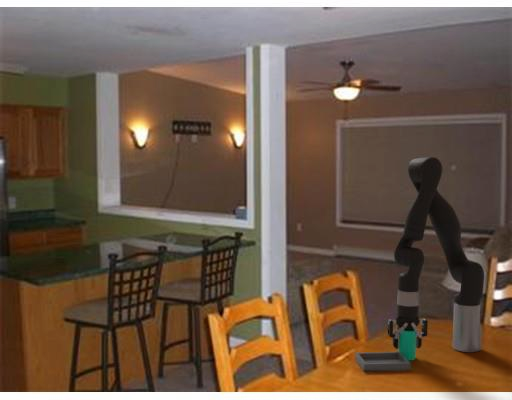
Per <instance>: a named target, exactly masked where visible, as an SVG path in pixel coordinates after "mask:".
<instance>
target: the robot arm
mask: <svg viewBox="0 0 512 400" xmlns="http://www.w3.org/2000/svg"><path fill="white" fill-rule="evenodd" d="M407 172H408V176H409V179H410V182H411V183H412V184H413V186H414V188H415V190H416V192H417V193H418V194H417V196H416V198H415V199H414V201H413V203H412V204H411V207H410V208H409V211H408V213H407V215H406V219H405V222H404V228H403V232H402V235H401V237H400V239H399V241H398V243H397V245H396V247H395V249H394V254H393V258H394V262H395V263H396V264H397V265H399V266H401V267H407V268H408V270H407V272H402V273H400V274H399V275H398V282H397V283H398V284H397V296H396V297H397V298H396V299H397V301H396V303H397V304H396V318H395V319H390V318H388V319H387V335H388V336H389V337H390V338H392V346H393V348H394V349H395V350H398V348H399V335H400V334H401V333H402V331H403V330H404V331H414V330H416V349H421V347H422V346H423V344H422V343H423V341H422V339H423V338H424V337H427V336H428V324H429V323H428V322H429V321H428V319H426V318H424V317H422V318H421V319H420V318H419V316H420V309H419V308H420V293H419V291H420V289H419V288H420V287H419V285H420V281H419V280H420V277H421V274H422V270H423V266H424V264H425V254H424V252H423V251H422V249H420V248H418V247H412V246H413V245H414V243H416V242H417V243H418V242H421V241H423V238H424V236H425V232H426V231H425V230H426V225H427V220H428V218H429V220H430V223H431V225H432V228H433V230H434V232H435V234H436V237H437V238H438V241H439V243H440V246H441V249H442V251H443V253H444V257H445V260H446V262H447V266H448V269H449V274H450V276H451V277H452V279H453V280H454V281H455V282H457V283H459V284H460V291H459V292H457V293H456V294H454V297H453V317H452V318H453V319H452V320H453V321H452V323H453V324H452V348H453V350H455V351H457V352H458V351H459V352H463V353H474V352H476V353H477V352H479V351H482V328H483V327H482V324H480V318H481V317H480V315H481V313H480V311H481V300H482V297H483V293H484V284H485V283H484V282H485V271H484V268H483V266H482V264H480V263H479V262H477V261H473V260H470V259H468V257H467V255H466V254H465V251H464V249H463V247H462V241H461V239H462V227H461V223H460V220H459V218H458V215H457V213H456V211H455V210H454V208H453V207H452V205H451V204H450V203H449V202H448V201H447V200H446V199H445V198H444V196H443V195H442V194H441V193H440V192H439V191H438V187H439V183H440V182H441V181H440V180H441V177H442V174H443V164H442V162H441V161H440V160H439V159H438V157H434V156H433V157H432V156H427V157H417V158H414V159H411V161H410V162H409V163H408V167H407ZM395 325H397V326H396V328H395V330H394V326H395ZM419 325H421V332H420V330H419V328H418V326H419ZM399 328H400V329H399Z"/></svg>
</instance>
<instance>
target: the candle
mask: <svg viewBox="0 0 512 400" xmlns="http://www.w3.org/2000/svg"><path fill="white" fill-rule="evenodd" d="M399 329H400V328H399ZM416 337H417V335H416V330H414V331H404V330H403V331H402V333H401V334H400V335H399V337H398V349H397V352H400V353H401V354H402V355H403V356H404V357H405V358H406V359H407V360H408V361H413V360H416V351H417V350H416V349H417V347H416Z"/></svg>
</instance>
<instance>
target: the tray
mask: <svg viewBox="0 0 512 400" xmlns="http://www.w3.org/2000/svg"><path fill="white" fill-rule="evenodd" d="M354 356H355V357H354V360H355V362H356V363H357V365H358V366H359V367H360V368H361V370H362V371H363V372H364V373H365V372H367V373H368V372H396V371H397V372H401V371H405V370H409V371H411V370H412V367H411V365H412V364H411V362H410V360H407V359H406V358H405V357H404V356H403V355H402V354H401V353H400V352H398V351H378V352H375V351H374V352H367V351H366V352H355V353H354ZM405 372H406V371H405Z"/></svg>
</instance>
